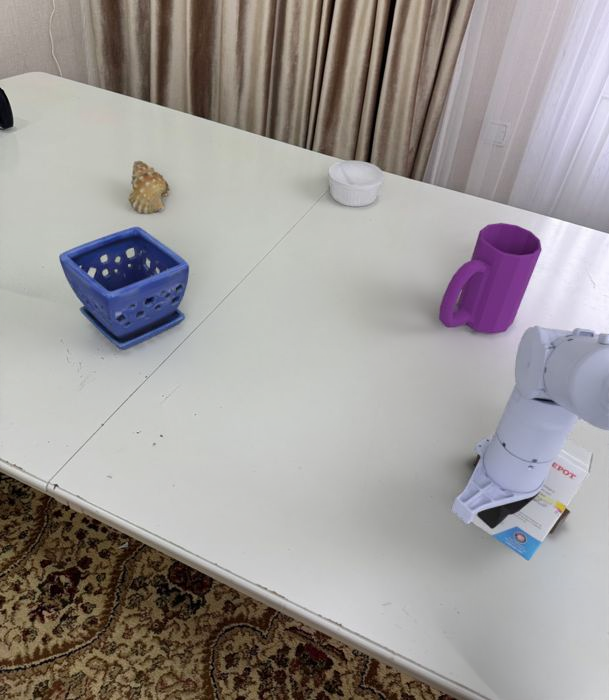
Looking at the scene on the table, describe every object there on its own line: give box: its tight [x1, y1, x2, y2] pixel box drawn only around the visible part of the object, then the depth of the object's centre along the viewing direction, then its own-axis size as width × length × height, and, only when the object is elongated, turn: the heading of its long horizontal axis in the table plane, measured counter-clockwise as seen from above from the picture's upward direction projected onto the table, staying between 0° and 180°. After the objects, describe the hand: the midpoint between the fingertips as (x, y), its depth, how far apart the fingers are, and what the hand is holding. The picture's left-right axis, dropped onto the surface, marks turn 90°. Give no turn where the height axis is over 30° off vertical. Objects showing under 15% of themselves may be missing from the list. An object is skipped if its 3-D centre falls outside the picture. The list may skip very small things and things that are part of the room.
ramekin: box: [327, 159, 385, 208], centre depth 126 cm, size 11×11×5 cm
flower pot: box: [58, 226, 190, 351], centre depth 90 cm, size 13×13×12 cm
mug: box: [438, 222, 542, 335], centre depth 94 cm, size 9×16×15 cm, turn 124°
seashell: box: [127, 160, 171, 215], centre depth 119 cm, size 9×8×10 cm
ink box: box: [470, 437, 594, 561], centre depth 68 cm, size 9×8×12 cm
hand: (486, 520), depth 65 cm, fingers closed, pressing on ink box
